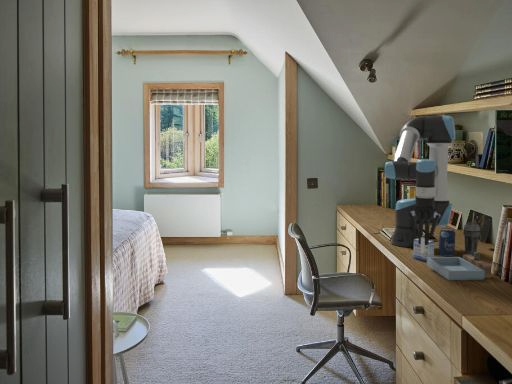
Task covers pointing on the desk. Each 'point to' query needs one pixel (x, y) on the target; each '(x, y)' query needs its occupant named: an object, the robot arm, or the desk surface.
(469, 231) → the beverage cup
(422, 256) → the medicine box
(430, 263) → the tray
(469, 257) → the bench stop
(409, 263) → the desk surface
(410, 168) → the robot arm
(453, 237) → the soda can
